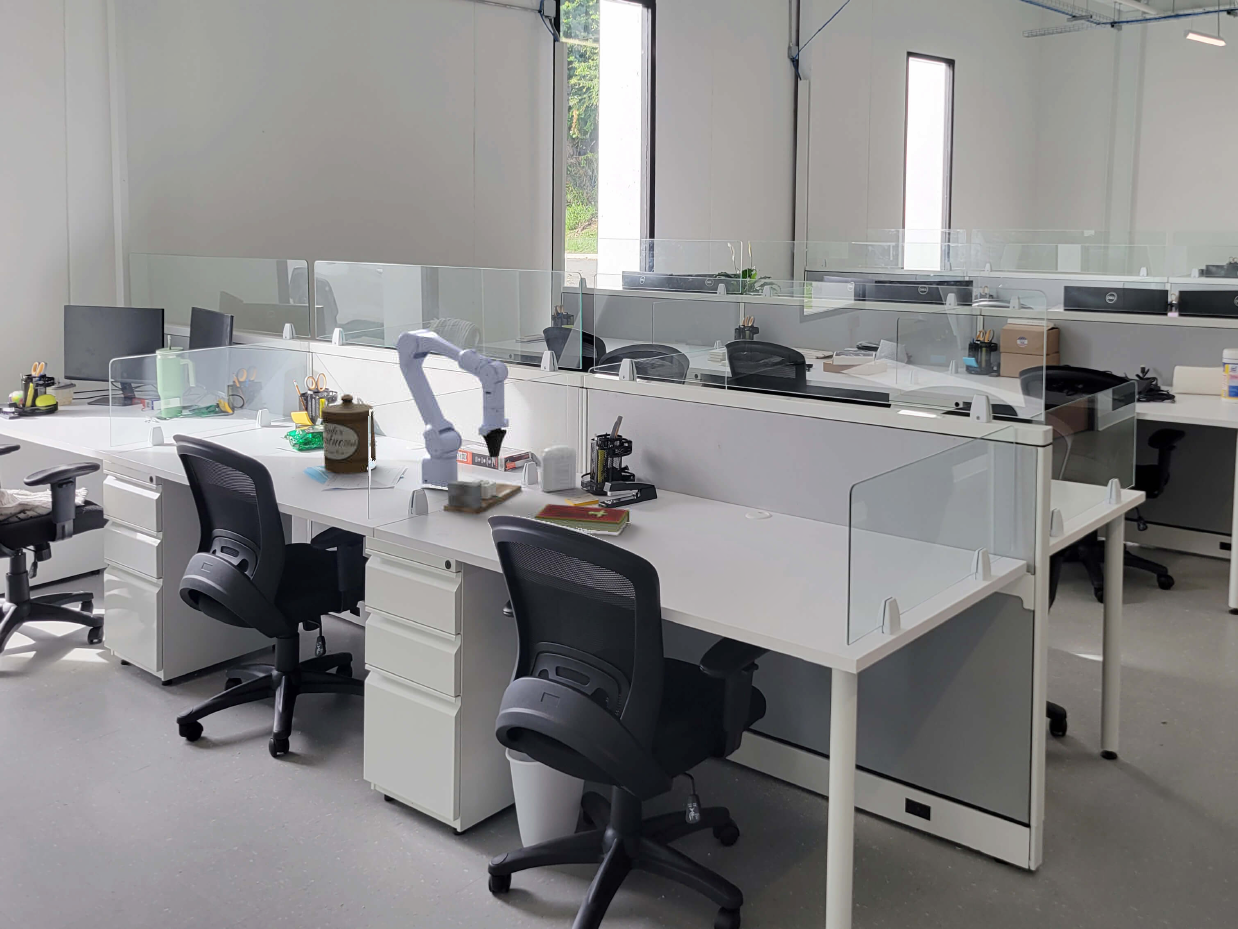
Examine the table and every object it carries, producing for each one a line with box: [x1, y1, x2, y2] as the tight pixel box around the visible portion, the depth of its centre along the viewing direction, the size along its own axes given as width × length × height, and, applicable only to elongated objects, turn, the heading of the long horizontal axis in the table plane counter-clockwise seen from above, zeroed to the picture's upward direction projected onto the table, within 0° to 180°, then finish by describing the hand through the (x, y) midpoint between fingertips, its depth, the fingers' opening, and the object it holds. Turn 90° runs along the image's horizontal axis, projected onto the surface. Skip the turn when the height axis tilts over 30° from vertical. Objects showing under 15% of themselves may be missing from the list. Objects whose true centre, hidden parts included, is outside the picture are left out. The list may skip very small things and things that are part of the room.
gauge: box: [471, 478, 498, 499], centre depth 283 cm, size 8×8×4 cm
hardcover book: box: [534, 503, 630, 532], centre depth 265 cm, size 12×21×4 cm, turn 78°
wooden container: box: [321, 393, 377, 474], centre depth 317 cm, size 15×15×22 cm
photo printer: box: [540, 444, 577, 493], centre depth 298 cm, size 10×4×12 cm, turn 123°
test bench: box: [443, 480, 522, 515], centre depth 287 cm, size 10×26×7 cm, turn 161°
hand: (494, 456), depth 291 cm, fingers closed
